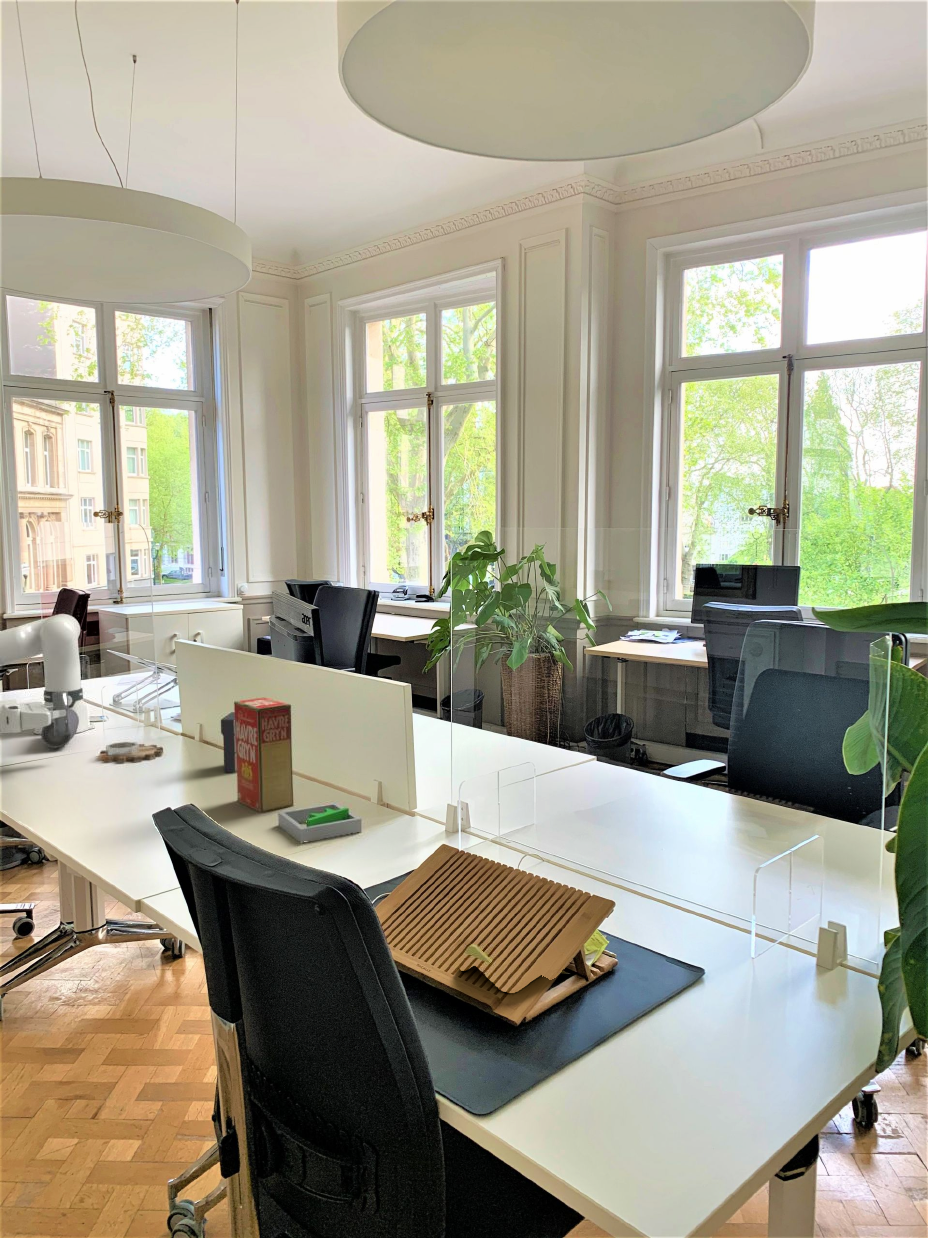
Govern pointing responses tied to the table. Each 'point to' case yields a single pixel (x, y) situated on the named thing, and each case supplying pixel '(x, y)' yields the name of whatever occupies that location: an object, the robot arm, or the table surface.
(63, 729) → the pin
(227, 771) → the charcoal rounded block
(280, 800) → the food packaging
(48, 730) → the bluetooth speaker
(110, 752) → the sprocket
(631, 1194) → the table surface
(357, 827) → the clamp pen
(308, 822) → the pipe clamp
